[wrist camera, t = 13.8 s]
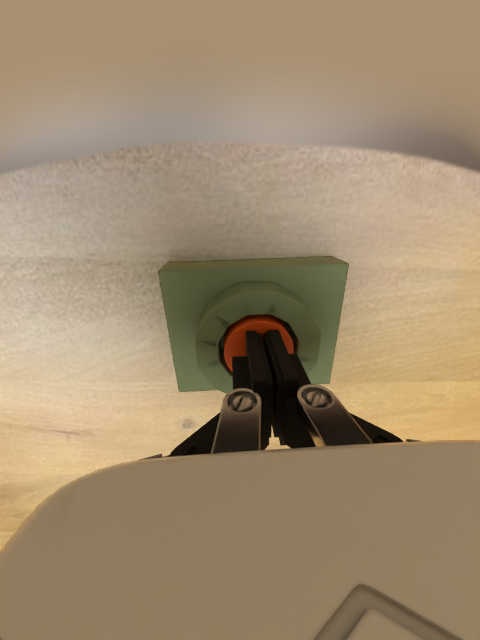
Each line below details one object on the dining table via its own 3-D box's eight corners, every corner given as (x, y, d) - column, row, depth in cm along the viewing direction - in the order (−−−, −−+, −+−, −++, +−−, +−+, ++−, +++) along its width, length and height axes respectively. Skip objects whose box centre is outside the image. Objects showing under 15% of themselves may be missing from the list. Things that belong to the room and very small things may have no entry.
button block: (184, 371, 18) (173, 413, 14) (167, 262, 14) (146, 280, 11) (318, 364, 18) (341, 404, 14) (332, 255, 14) (367, 271, 11)
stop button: (226, 364, 15) (225, 383, 13) (222, 309, 13) (221, 323, 11) (284, 361, 15) (291, 379, 13) (287, 306, 13) (296, 319, 12)
